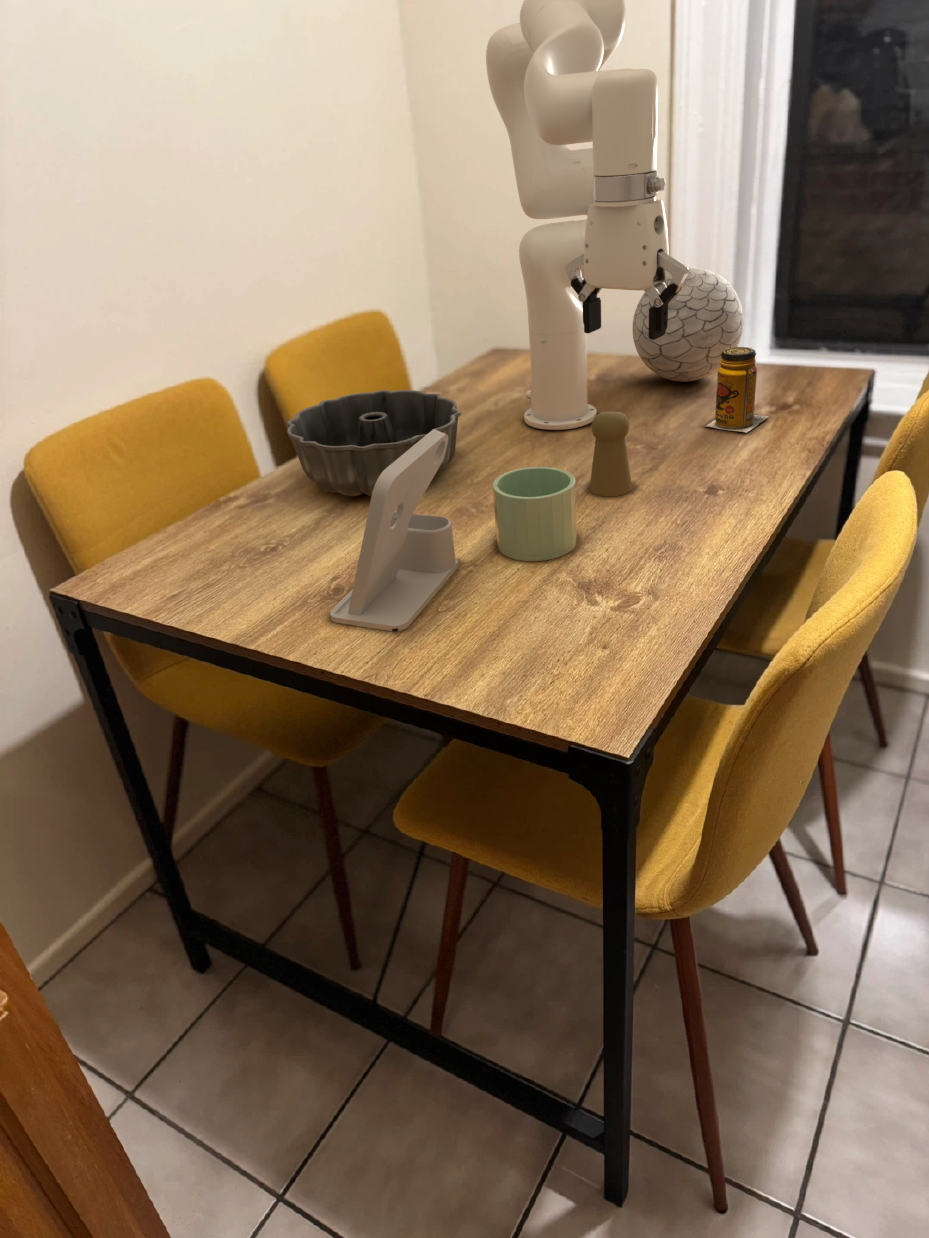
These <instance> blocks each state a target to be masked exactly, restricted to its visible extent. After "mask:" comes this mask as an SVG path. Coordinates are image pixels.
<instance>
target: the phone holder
mask: <svg viewBox="0 0 929 1238" xmlns="http://www.w3.org/2000/svg"><path fill="white" fill-rule="evenodd" d="M447 445H448V435H447V434H444V433H442V432H440V431H437V430H435V429H433V430H432V431H431V432H429V433H428V434H427V435H426V436H425V437H423V438H422V439H421V440H420V441H418V442H417V443H416V444H415V445H414V446H412V447H411V448H410V449H409V450H408V451H406V452H405V453H404V454H403V455H402V456H400V457H399V458H398V459H397V460H396V461H394V462H393V463H392V464H391V465H390V466H388V467H387V468H386V469H385V470H384V471H383V472H382V473H381V474H380V476H379V478H378V479H377V481H376V484H375V486H374V489H373V492H372V497H370V502H369V506H368V513H367V516H366V522H365V527H364V531H363V536H362V542H361V546H360V552H359V557H358V561H357V567H356V571H355V577H354V582H353V586H352V589H351V590H350V591H349V592H348V593H347V594H346V595H345V596H344V597H342V599H340V601H339V602H338V603H337V604H335V606H334V607H333V608H332V609H331V610H330V611H329V616H330V617H329V618H330V620H331V621H332V622H333V623H335V624H342V625H348V626H354V627H355V626H356V627H361V628H369V629H375V630H381V631H388V632H392V631H394V630H395V629H396V630H397V632H402V631H404V630H407V629H408V628H409V627H410V626H411V625H412V624H413V622H414V621H415V619H416V618H418V616H419V615H420V614H421V613H422V611H423V610H424V609H425V608H426V606H427V605H428V604H429V603H430V602H431V601H432V600H433V598H434V597H435V596H436V594H438V592H439V591H440V590H441V589H442V587H444V585H445V584H446V583H447V582H448V580H449V579H450V578H451V577H452V576H453V574H454V573H455V572H456V571H457V570H458V569H459V560H458V558H456V553H455V551H456V550H455V542H454V532H453V524H452V521H451V519H449V518H447V517H445V516H440V515H429V514H428V515H427V514H418V513H415V511H416V509H417V507H418V505H419V504H420V502H421V500H422V498H424V497H423V496H424V495H425V493H426V492H427V490H428V488H429V486H430V485H431V483H432V481H433V480H434V479H433V477H434V475H435V474H436V472H437V470H438V468H439V467H440V465H441V463H442V461H443V459H444V456H445V453H446V449H447Z"/></svg>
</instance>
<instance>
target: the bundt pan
mask: <svg viewBox="0 0 929 1238" xmlns="http://www.w3.org/2000/svg"><path fill="white" fill-rule="evenodd" d="M457 407H458V404H457V402H456V401H455V400H453V399H452V398H451V399H450V398H447V397H443V396H441V394H440V393H427V392H424V391H422V390H415V389H400V390H388V389H381V390H380V389H379V390H376V391H373V392H357V393H350V394H345V395H342V396H339V397H337V398H334V399H325V400H321V401H320V402H319V403H318V404H315V405H311V406H308V407H306V408H303V409H301V410H299V411H298V412H296V413H295V416H294V418H291V419H289V420H287V421H286V424H287V429H286V432H287V436H288V437H289V439H291V440H292V443H293V446H294V449H295V452H296V454H297V458H298V460H299V463H300V465H301V468H302V470H303V473H304V474H305V475H306V477H307V478H308V479H309V480H310V481H312V482H313V483H314V484H316V485H317V486H318V487H319V488H320V489H321V490H323V491H324V492H326V493H330V494H340V495H343V496H346V497H359V496H361V495H363V494H365V495H367V496H369V498H371V497H372V492H373V489H374V486H375V484H376V481H377V479H378V478H379V476H380V474H381V473H382V472H383V471H384V470H385V469H386V468H387V467H388V466H390V465H391V464H392V463H393V462H394V461H396V460H397V459H398V458H399V457H400V456H402V455H403V454H404V453H405V452H406V451H408V450H409V449H410V448H411V447H412V446H414V445H415V444H416V443H417V442H418V441H420V440H421V439H422V438H423V437H425V436H426V435H427V434H428V433H429V432H431V431H432V430H433V429H435V430H437V431H440V432H442V433H444V434H447V435H448V445H447V449H446V453H445V456H444V459H443V461H442V463H441V465H440V467H439V468H438V470H437V472H436V474H435V475H434V477H433V479H432V480H435V479H436V478H438V477H439V476H440V475H442V473H443V472H444V471H445V469H446V468H447V467H448V465H449V464H450V463H451V462H452V460H453V458H454V456H455V453H456V448H457V447H456V446H457V445H456V444H457V435H458V424H459V423H458V422H459V417H461V416H462V410H460V409H458V408H457Z"/></svg>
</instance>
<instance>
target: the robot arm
mask: <svg viewBox="0 0 929 1238" xmlns="http://www.w3.org/2000/svg"><path fill="white" fill-rule="evenodd" d="M626 10H627V9H626V3H625V0H523V3H522V4H521V7H520V11H519V22H517V23H511V24H508V25H505V26H504V27H501V28H499V29H497V30H496V31H495V32H493V33H492V34H491V36H490V37H489V39H488V42H487V45H486V49H485V65H486V75H487V81H488V86H489V89H490V93H491V96H492V99H493V101H494V104H495V107H496V109H497V111H498V113H499V116H500V118H501V120H502V122H503V124H504V127H505V129H506V132H507V134H508V139H509V143H510V144H509V145H510V150H511V158H512V164H513V169H514V176H515V181H516V187H517V193H518V199H519V203H520V206H521V208H522V212H524V214H525V215H526V216H527V217H528V218H529V219H532V220H551V219H553V220H554V219H561V218H562V219H563V218H569V217H577V216H579V217H580V216H587V217H586V219H578V220H567V221H559V222H550V223H545V224H540V225H537V226H535V227H532V228H531V229H529V230H528V231H527V232H525V234H524V235H523V236H522V238H521V240H520V243H519V246H518V247H519V248H518V258H519V264H520V269H521V274H522V280H523V284H524V291H525V297H526V306H527V323H528V337H529V338H528V339H529V359H530V360H529V361H530V378H531V379H530V380H531V390H526V392H525V398H527V399H529V400H530V404H531V405H530V406H531V407H529V408H528V409H527V410H526V411H525V412H524V414H523V419H524V420H523V421H524V423H525V424H527V426H530V427H531V428H534V429H540V430H546V431H565V430H571V429H577V428H581V427H584V426H586V425H589V424H592V421H593V419H594V417H595V416H596V415H598V414H597V413H598V411H597V408H596V407H595V406H594V405H592V404H589V403H588V363H587V362H588V361H587V360H588V355H587V354H588V348H587V347H588V346H587V343H588V342H587V334H591V333H593V332H595V331H598V330H600V329H601V328H602V300H601V297H598V294H599V293H600V292H601V291H602V289H608V290H620V291H621V290H623V291H643V292H644V293H646V294H647V296H648V297H649V299H650V300H651V302H652V303H653V306H652V307H650V308H649V338H650V339H651V340H655V339H657V338H659V337H661V336H663V335H665V332H666V330H667V326H668V303H670V302H671V301H672V299H673V298H674V297H675V296H676V295H677V294H678V293H679V291H680V290H681V288H682V285H683V283H684V281H685V279H686V277H687V275H688V273H689V269H688V268H689V267H687V266H686V265H685V264H683V263H681V262H680V261H679V260H677V259H676V258H674V257H672V256H671V255H670V254H669V253H670V252H669V236H668V235H669V234H668V225H667V217H666V212H665V206H664V201H663V199H657V196H658V192H663V191H665V189H666V185H667V184H666V179H665V178H663V177H661V178H660V177H658V175H659V172H658V170H657V165H658V163H657V162H658V161H657V159H658V158H657V157H658V156H657V155H658V116H659V115H658V113H659V112H658V111H659V109H658V108H659V105H658V104H659V80H658V77H657V74H656V73H655V72H654V71H653V70H651V69H648V68H636V69H635V68H617V69H608V70H602V69H603V68H604V66H605V65H606V63H607V62H608V61H609V60H610V58H611V57H612V55H613V54H614V52H615V51H616V49H617V48H618V47H619V45H620V43H621V40H622V38H623V35H624V32H625V28H626V21H627V12H626ZM584 143H592V147H590V148H579V149H569V148H568V147H567V145H575V144H584ZM669 273H671V275H672V279H671V282H670V284H669V285H668V286H667V287H666V285H665V284H664V282H665V281H667V279H668V274H669ZM571 288H572V289H573V291H574V292H575V293H576V294H577V298H576V297H575V295H574V294H573V293H572V292H571Z"/></svg>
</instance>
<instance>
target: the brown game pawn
mask: <svg viewBox="0 0 929 1238" xmlns="http://www.w3.org/2000/svg"><path fill="white" fill-rule="evenodd" d="M629 431H630V421H629V418H628V416H627V415H626V414H625V413H623V412H620V411H610V410H609V411H603V412H600V413H598V414H597V415H596V416H595V417H594V419H593V421H592V422H591V432H592V435H593V436H594V438H595V441H594V447H593V448H594V450H593V456H592V466H591V473H590V479H589V491H590V493H592V494H593V495H595V496H600V497H610V498H611V497H618V496H619V497H621V496H623V495H626V494H628V493H630V492H631V491H632V489H633V486H632V478H631V470H630V464H629V455H628V447H627V441H626V440H627V439H626V437H627V435H628V434H629Z"/></svg>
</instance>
